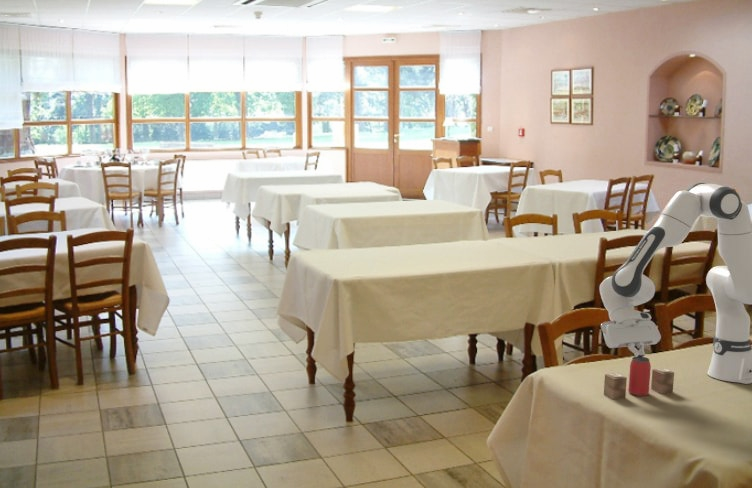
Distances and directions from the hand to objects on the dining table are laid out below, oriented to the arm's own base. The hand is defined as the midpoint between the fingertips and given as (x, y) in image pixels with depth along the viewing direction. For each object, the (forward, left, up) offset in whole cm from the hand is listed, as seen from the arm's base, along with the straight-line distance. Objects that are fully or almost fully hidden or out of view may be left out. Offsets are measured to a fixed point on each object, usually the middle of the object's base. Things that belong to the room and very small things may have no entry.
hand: (640, 356), depth 296 cm
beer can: (0, 0, -13) cm, 13 cm away
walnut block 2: (-10, 0, -13) cm, 16 cm away
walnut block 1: (+9, 0, -13) cm, 16 cm away
